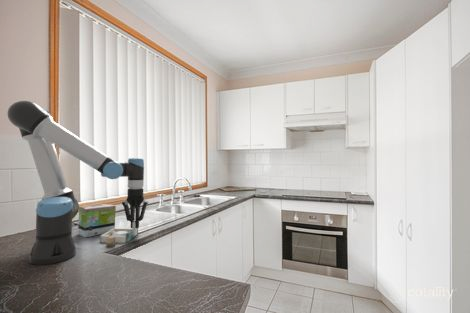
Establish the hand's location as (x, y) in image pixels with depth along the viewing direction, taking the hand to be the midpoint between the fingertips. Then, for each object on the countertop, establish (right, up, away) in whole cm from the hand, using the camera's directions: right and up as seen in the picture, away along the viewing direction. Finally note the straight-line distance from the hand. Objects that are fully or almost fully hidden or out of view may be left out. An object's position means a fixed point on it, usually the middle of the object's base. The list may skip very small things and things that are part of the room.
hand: (134, 234), depth 122 cm
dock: (-7, -2, 0) cm, 7 cm away
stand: (-6, -2, -11) cm, 13 cm away
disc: (-7, -1, 0) cm, 7 cm away
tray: (-7, -2, 0) cm, 7 cm away
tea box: (-24, -2, +8) cm, 25 cm away
